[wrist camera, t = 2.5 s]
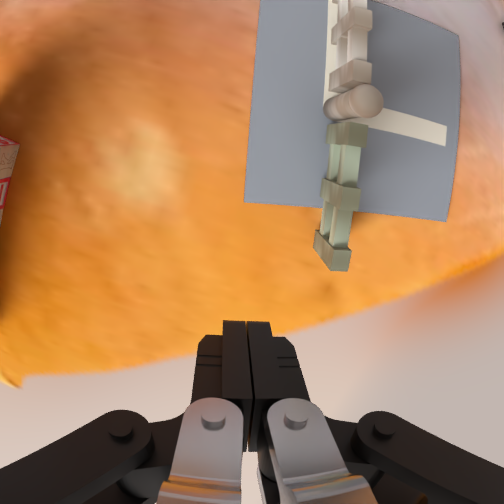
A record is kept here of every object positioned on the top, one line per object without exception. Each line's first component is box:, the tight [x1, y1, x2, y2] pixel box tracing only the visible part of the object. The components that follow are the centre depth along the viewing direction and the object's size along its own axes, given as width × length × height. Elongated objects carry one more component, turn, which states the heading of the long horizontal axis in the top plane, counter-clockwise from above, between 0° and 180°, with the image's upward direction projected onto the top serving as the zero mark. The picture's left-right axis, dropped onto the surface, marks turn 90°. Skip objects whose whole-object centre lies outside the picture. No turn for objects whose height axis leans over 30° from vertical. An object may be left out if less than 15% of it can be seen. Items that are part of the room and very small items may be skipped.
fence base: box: [323, 0, 384, 121], centre depth 16 cm, size 12×2×7 cm, turn 176°
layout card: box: [244, 0, 460, 222], centre depth 20 cm, size 18×18×1 cm
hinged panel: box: [313, 122, 368, 271], centre depth 20 cm, size 9×1×4 cm, turn 176°
